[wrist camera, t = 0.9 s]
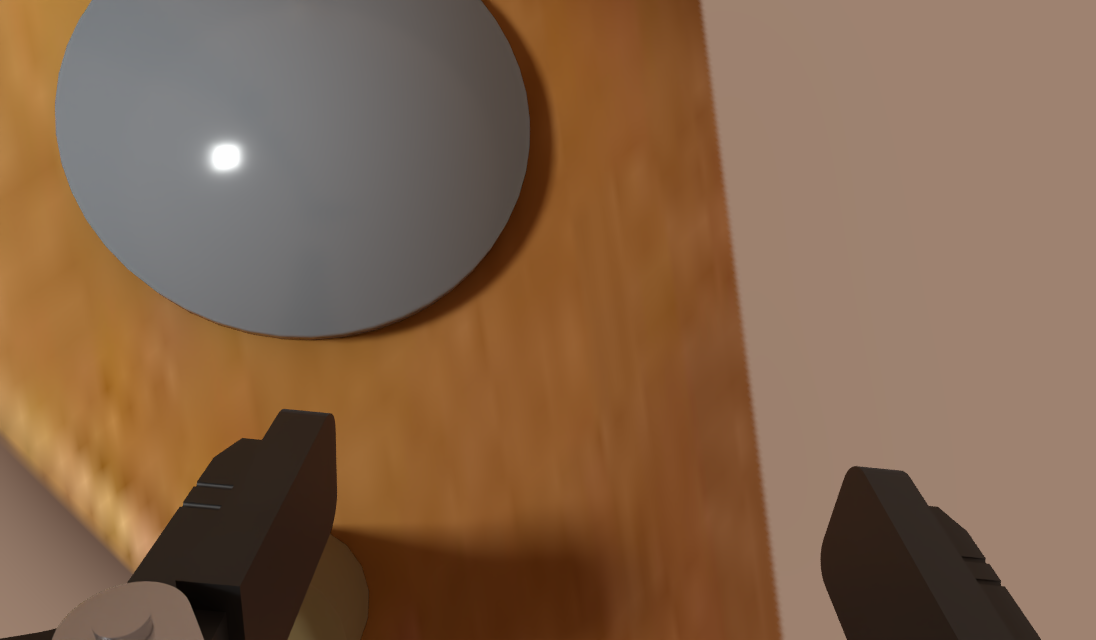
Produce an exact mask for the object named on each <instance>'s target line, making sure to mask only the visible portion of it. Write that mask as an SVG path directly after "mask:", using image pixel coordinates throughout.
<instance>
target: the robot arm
mask: <svg viewBox="0 0 1096 640" xmlns="http://www.w3.org/2000/svg"><path fill="white" fill-rule="evenodd" d="M336 502H337V473H336V431H335V419H334V416H333V415H332V414H330V413H320V412H310V411H300V410H289V409H283V410H281V411H280V412H279V413H278V415H277V417H276V418H275V420H274V421H273V423H272V425H271V426H270V428H269V430H268V431H267V433H266V434H265V436H264V438H263V439H262V440H256V439H246V438H242V439H240V440H239V441H237V442H236V443H234V444H233V445H231V446H230V447H229V448H227V449H226V450H224V451H223V452H221V453H220V454H218V455H217V456H215V457H214V458H213V460H212V461H211V462H210V464H209V465H208V467H207V468H206V470H205V471H204V473H203V474H202V475H201V477H200V478H199V480H198V481H197V486H196V487H193V488H192V490H191V491H190V493H189V494H188V496H187V497H186V499H185V500H184V502H183V506H182V507H179V509H178V510H177V512H176V513H175V515H174V516H173V517H172V519H171V520H170V522H169V523H168V525H167V526H166V528H165V529H164V530H163V532H162V533H161V535H160V536H159V538H158V539H157V541H156V542H155V543H154V545H153V546H152V548H151V549H150V551H149V552H148V554H147V555H146V557H145V558H144V559H143V561H142V562H141V564H140V565H139V567H138V568H137V570H136V571H135V572H134V574H133V575H132V577H131V578H130V580H129V581H128V583H127V584H122V585H119V586H115V587H112V588H109V589H106V590H104V591H102V592H99V593H98V594H96V595H94V596H92V597H90V598H88V599H87V600H85V601H84V602H82V603H80V604H79V605H78V606H77V607H76V608H74V609H73V610H72V611H71V612H70V613H69V614H68V615H67V616H66V617H65V618H64V619H63V620H62V622H61V623H60V625H59V626H58V627H57V628H56V629H53V630H49V631H43V632H39V633H33V634H27V635H21V636H14V637H8V638H2V639H0V640H288V637H289V635H290V632H291V630H292V627H293V625H294V622H295V620H296V617H297V615H298V612H299V610H300V607H301V605H302V603H303V600H304V598H305V595H306V593H307V590H308V588H309V585H310V583H311V580H312V578H313V575H314V573H315V570H316V568H317V565H318V563H319V560H320V558H321V555H322V553H323V550H324V548H325V545H326V543H327V540H328V538H329V535H330V533H331V529H332V526H333V521H334V516H335V510H336ZM821 571H822V576H823V581H824V584H825V586H826V589H827V591H828V594H829V596H830V599H831V601H832V603H833V606H834V609H835V611H836V613H837V616H838V619H839V621H840V623H841V626H842V628H843V631H844V633H845V636H846V638H847V640H1041V639H1040V637H1039V636H1038V634H1037V633H1036V631H1035V630H1034V628H1033V627H1032V626H1031V624H1030V623H1029V621H1028V620H1027V618H1026V617H1025V616H1024V614H1023V613H1022V611H1021V609H1020V608H1019V607H1018V605H1017V604H1016V602H1015V601H1014V599H1013V598H1012V596H1011V595H1010V594H1009V592H1008V590H1007V589H1006V588H1005V587H1003V586H1001V584H1000V583H1001V580H1000V579H999V578H998V576H997V574H996V573H995V572H994V570H993V569H992V567H991V566H990V564H986V563H985V557H984V555H983V554H982V553H981V551H980V550H979V548H978V547H977V545H976V544H975V542H974V541H973V540H972V538H971V536H970V535H969V534H968V532H967V531H966V530H965V529H964V528H962V527H961V526H960V525H959V524H958V523H956V522H955V521H954V520H952V519H951V518H950V517H949V516H948V515H947V514H946V513H944V512H943V511H942V510H941V509H940V508H938V507H933V506H928V505H927V503H926V502H925V500H924V498H923V497H922V495H921V494H920V492H919V491H918V489H917V488H916V486H915V484H914V483H913V481H912V480H911V478H910V477H909V476H908V474H907V473H905V472H903V471H899V470H888V469H878V468H868V467H857V466H854V467H852V468H850V469H849V470H848V472H847V473H846V475H845V478H844V480H843V483H842V486H841V489H840V492H839V495H838V499H837V501H836V504H835V507H834V510H833V513H832V516H831V519H830V522H829V525H828V528H827V531H826V534H825V537H824V540H823V543H822V549H821Z"/></svg>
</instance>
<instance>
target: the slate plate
mask: <svg viewBox="0 0 1096 640" xmlns="http://www.w3.org/2000/svg"><path fill="white" fill-rule="evenodd" d="M55 116H56V136H57V141H58V147H59V152H60V157H61V162H62V166H63V168H64V171H65V174H66V177H67V180H68V183H69V186H70V188H71V191H72V193H73V195H74V197H75V199H76V201H77V203H78V205H79V207H80V209H81V210H82V212H83V214H84V216H85V218H86V220H87V221H88V223H89V224H90V225H91V227H92V228H93V230H94V231H95V232H96V234H97V235H98V236H99V238H100V239H101V240H102V242H103V243H104V245H105V246H106V247H107V248H108V249H109V250H110V251H111V252H112V253H113V254H114V255H115V256H116V257H117V258H118V259H119V260H120V261H121V262H122V263H123V264H124V265H125V267H126V268H127V269H128V270H130V271H131V272H132V273H134V274H135V275H136V276H137V277H139V278H140V279H141V280H142V281H144V282H145V283H146V284H148V285H149V286H150V287H151V288H153V289H154V290H155V291H157V292H158V293H159V294H160V295H162V296H163V297H165V298H166V299H168V300H170V301H171V302H173V303H175V304H176V305H178V306H180V307H182V308H183V309H185V310H187V311H188V312H190V313H192V314H195V315H197V316H199V317H202V318H204V319H206V320H208V321H211V322H213V323H215V324H218V325H220V326H224V327H227V328H231V329H234V330H238V331H241V332H245V333H248V334H253V335H259V336H265V337H272V338H278V339H295V340H320V339H330V338H341V337H348V336H352V335H357V334H361V333H366V332H370V331H374V330H377V329H380V328H383V327H386V326H388V325H391V324H394V323H397V322H400V321H402V320H404V319H406V318H408V317H410V316H412V315H414V314H416V313H418V312H420V311H422V310H424V309H426V308H428V307H429V306H431V305H432V304H434V303H435V302H437V301H438V300H439V299H441V298H442V297H444V296H445V295H447V294H448V293H450V292H451V291H452V290H453V289H454V288H455V287H457V286H458V285H459V284H460V283H461V282H462V281H463V280H464V279H465V278H467V277H468V276H469V275H470V274H471V273H472V272H473V271H474V269H475V268H476V267H477V266H478V265H479V264H480V262H481V261H482V260H483V259H484V258H485V256H486V255H487V254H488V253H489V251H490V250H491V248H492V247H493V245H494V243H495V242H496V240H497V239H498V237H499V235H500V234H501V232H502V231H503V229H504V227H505V225H506V223H507V222H508V219H509V217H510V215H511V213H512V211H513V208H514V206H515V204H516V202H517V199H518V197H519V194H520V190H521V187H522V184H523V180H524V177H525V173H526V168H527V161H528V154H529V147H530V117H529V109H528V102H527V95H526V90H525V87H524V83H523V79H522V76H521V72H520V68H519V66H518V63H517V61H516V58H515V56H514V54H513V51H512V49H511V46H510V44H509V42H508V40H507V39H506V37H505V35H504V33H503V32H502V30H501V28H500V26H499V25H498V23H497V21H496V20H495V18H494V17H493V16H492V14H491V13H490V12H489V10H488V9H487V8H486V6H485V5H484V4H483V2H482V1H481V0H92V1H91V3H90V4H89V6H88V7H87V9H86V10H85V12H84V13H83V15H82V16H81V18H80V19H79V21H78V23H77V26H76V28H75V30H74V32H73V34H72V36H71V38H70V41H69V43H68V45H67V48H66V51H65V55H64V58H63V61H62V65H61V68H60V72H59V77H58V85H57V93H56V100H55Z"/></svg>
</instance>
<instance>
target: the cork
mask: <svg viewBox="0 0 1096 640" xmlns="http://www.w3.org/2000/svg"><path fill="white" fill-rule="evenodd" d="M368 603H369V589H368V586H367V583H366V579H365V576H364V573H363V569H362V566H361V565H360V563H359V562H358V560H357V559H356V558H355V556H354V555H353V553H352V552H351V551H350V549H349V548H348V546H347V545H345V544H344V543H343V542H341V541H340V540H338V539H337V538H335V537H334V536H333V535H331V534H330V535H329V538H328V540H327V543H326V545H325V548H324V550H323V553H322V555H321V558H320V560H319V563H318V565H317V568H316V570H315V573H314V575H313V578H312V580H311V583H310V585H309V588H308V590H307V593H306V595H305V598H304V600H303V603H302V605H301V607H300V610H299V612H298V615H297V617H296V620H295V622H294V625H293V627H292V630H291V632H290V635H289V637H288V640H361V637H362V634H363V631H364V628H365V625H366V622H367V619H368Z"/></svg>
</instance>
